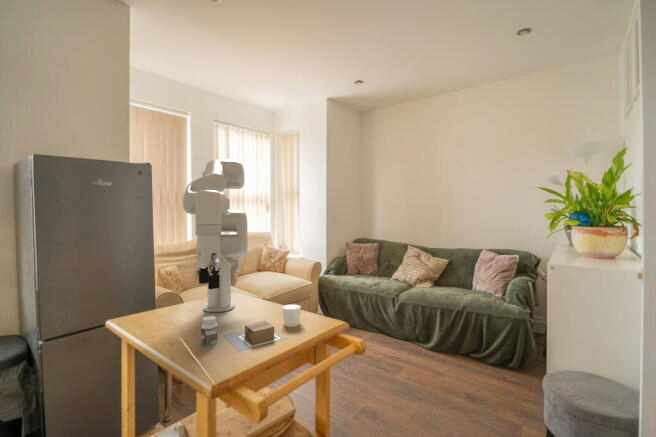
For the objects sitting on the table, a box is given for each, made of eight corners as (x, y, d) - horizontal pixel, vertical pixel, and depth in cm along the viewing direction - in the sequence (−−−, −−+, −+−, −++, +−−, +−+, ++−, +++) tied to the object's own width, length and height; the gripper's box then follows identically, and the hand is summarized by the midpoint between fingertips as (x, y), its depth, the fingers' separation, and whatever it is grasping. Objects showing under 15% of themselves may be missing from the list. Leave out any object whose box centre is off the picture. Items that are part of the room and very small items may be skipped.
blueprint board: (221, 337, 105) (221, 335, 105) (266, 326, 114) (266, 324, 114) (239, 353, 93) (239, 350, 93) (286, 340, 102) (286, 337, 102)
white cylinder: (300, 329, 112) (300, 309, 112) (280, 329, 112) (280, 309, 112) (301, 322, 119) (301, 303, 119) (283, 322, 119) (283, 303, 119)
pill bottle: (202, 342, 101) (202, 316, 101) (218, 340, 102) (218, 314, 102) (200, 348, 96) (200, 321, 96) (216, 347, 97) (216, 319, 97)
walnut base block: (244, 337, 103) (244, 325, 103) (264, 332, 108) (264, 320, 107) (253, 344, 98) (253, 331, 98) (274, 338, 102) (274, 326, 102)
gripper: (188, 230, 103) (189, 282, 103) (204, 231, 89) (204, 292, 89) (212, 229, 107) (212, 279, 107) (230, 231, 94) (230, 289, 94)
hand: (209, 285), depth 98 cm, fingers open, 9 cm apart
